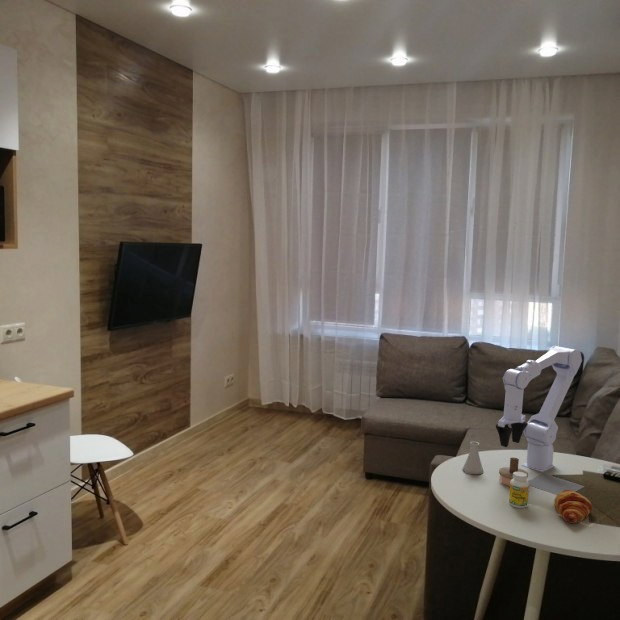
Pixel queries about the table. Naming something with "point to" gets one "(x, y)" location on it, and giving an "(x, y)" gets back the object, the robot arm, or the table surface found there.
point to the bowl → (505, 480)
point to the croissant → (572, 506)
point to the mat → (553, 484)
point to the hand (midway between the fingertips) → (509, 444)
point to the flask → (473, 460)
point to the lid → (511, 469)
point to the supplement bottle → (519, 490)
